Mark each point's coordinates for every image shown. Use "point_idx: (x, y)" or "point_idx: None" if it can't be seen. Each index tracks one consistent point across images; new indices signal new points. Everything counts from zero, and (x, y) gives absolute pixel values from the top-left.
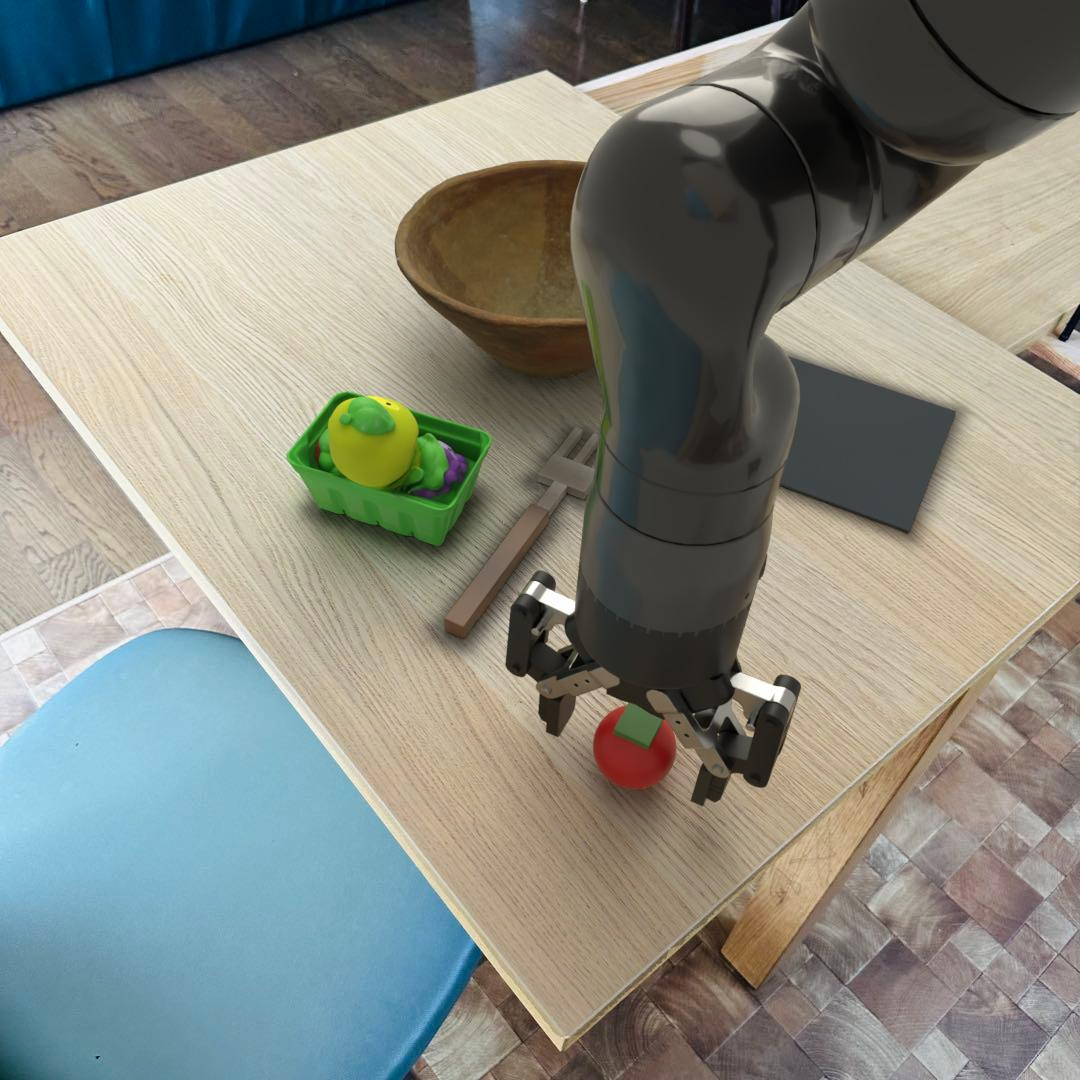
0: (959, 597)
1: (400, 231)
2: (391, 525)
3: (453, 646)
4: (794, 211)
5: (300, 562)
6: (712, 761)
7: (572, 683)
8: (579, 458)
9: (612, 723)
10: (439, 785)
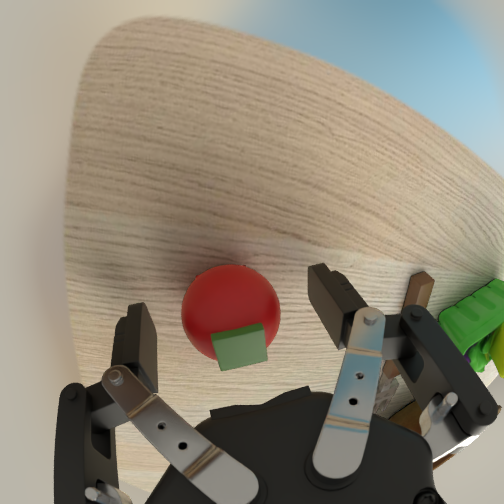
0: (137, 460)
1: (498, 413)
2: (470, 302)
3: (415, 265)
4: None
5: (500, 243)
6: (124, 388)
7: (365, 374)
8: (378, 404)
9: (269, 328)
10: (378, 147)
